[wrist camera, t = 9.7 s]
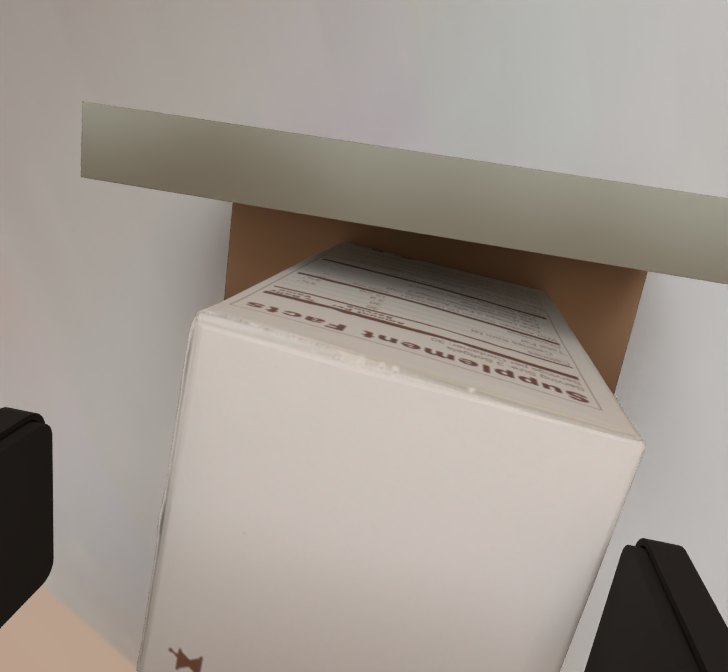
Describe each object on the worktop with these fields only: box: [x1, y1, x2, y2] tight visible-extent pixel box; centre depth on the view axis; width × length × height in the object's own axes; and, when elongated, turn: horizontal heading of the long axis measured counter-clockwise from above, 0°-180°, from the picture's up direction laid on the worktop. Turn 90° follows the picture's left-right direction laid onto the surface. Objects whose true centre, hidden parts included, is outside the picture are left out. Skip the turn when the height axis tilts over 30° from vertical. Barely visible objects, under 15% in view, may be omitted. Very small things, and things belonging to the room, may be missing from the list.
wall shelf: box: [81, 101, 728, 395], centre depth 20 cm, size 14×14×12 cm
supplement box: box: [137, 242, 646, 672], centre depth 16 cm, size 7×7×13 cm
